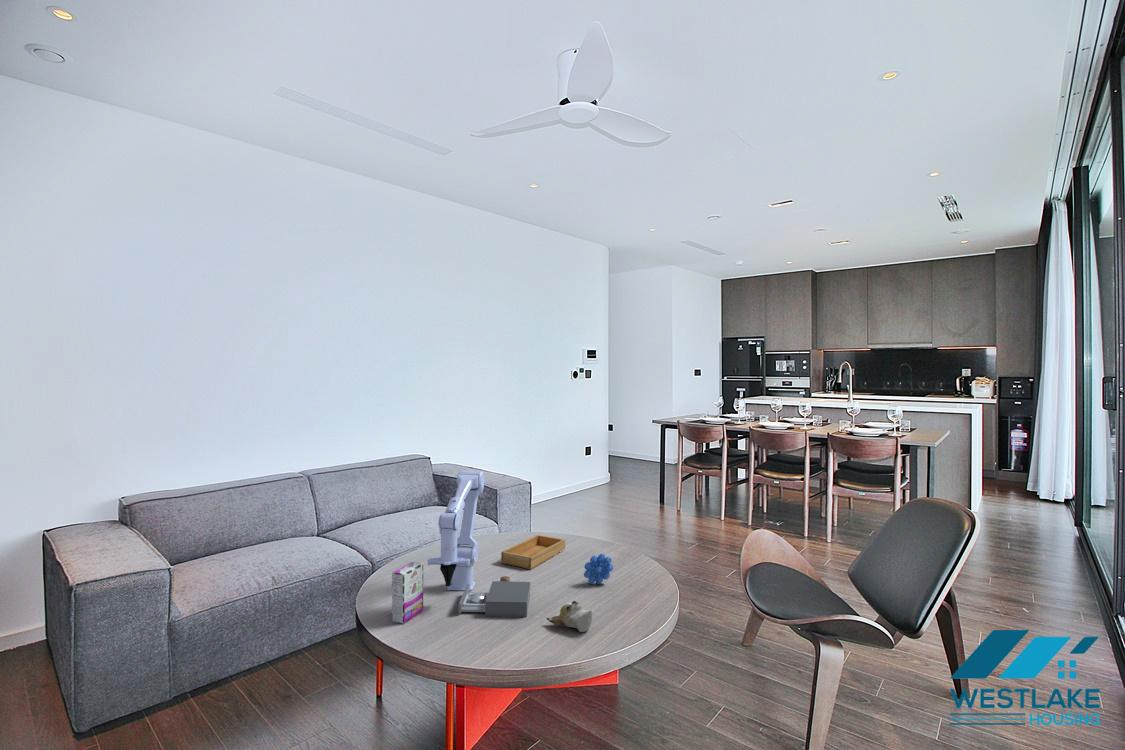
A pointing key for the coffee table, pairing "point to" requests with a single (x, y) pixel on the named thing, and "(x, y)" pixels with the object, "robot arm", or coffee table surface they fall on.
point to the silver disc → (477, 598)
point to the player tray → (467, 605)
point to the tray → (532, 551)
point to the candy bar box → (407, 592)
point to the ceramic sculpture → (573, 617)
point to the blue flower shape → (598, 569)
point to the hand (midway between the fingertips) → (448, 585)
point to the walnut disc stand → (505, 578)
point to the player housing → (508, 599)
